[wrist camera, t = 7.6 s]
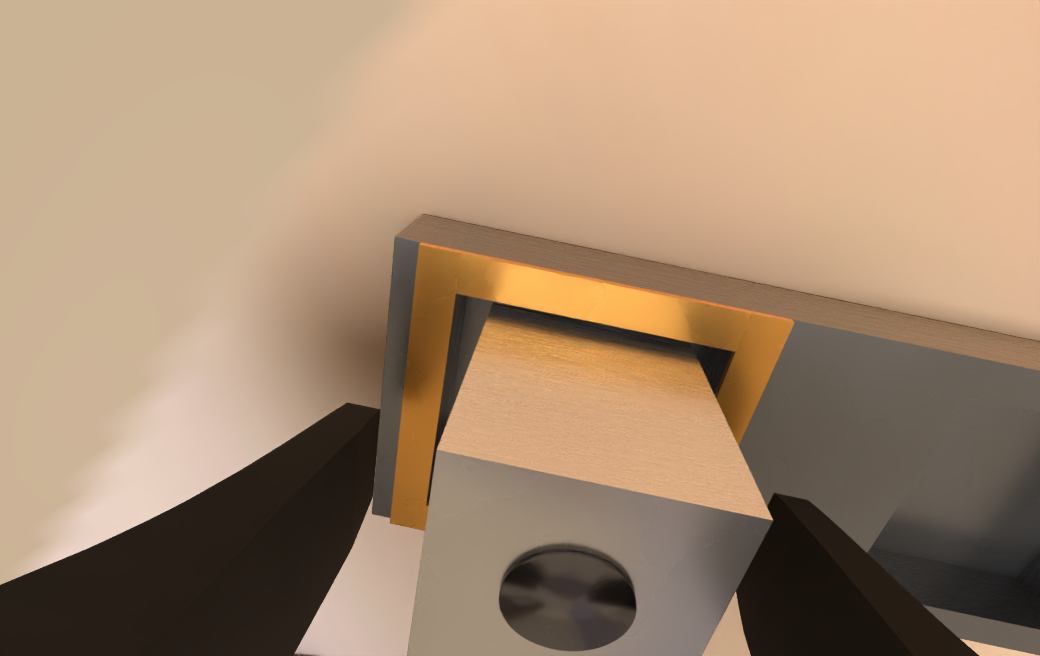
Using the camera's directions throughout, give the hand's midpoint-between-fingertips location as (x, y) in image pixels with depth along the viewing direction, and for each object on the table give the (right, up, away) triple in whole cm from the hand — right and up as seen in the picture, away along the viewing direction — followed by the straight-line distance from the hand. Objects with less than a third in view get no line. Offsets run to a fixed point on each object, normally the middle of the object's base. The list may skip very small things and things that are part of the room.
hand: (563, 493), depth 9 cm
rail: (+5, +1, +3) cm, 6 cm away
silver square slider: (0, +2, +3) cm, 3 cm away
